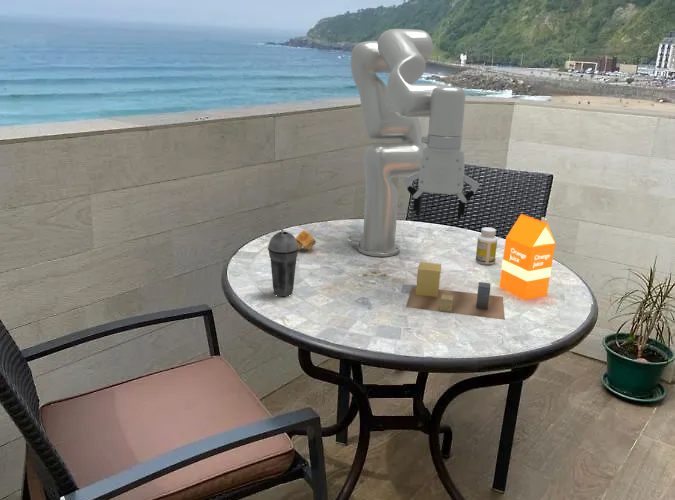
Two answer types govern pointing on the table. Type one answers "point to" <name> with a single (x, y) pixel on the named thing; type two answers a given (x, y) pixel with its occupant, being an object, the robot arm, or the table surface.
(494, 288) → the table surface
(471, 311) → the board
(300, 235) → the pyrite
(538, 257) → the orange juice
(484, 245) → the supplement bottle
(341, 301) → the table surface
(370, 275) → the set of tan pieces
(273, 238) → the beverage cup
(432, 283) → the tan rectangular block
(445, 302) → the wooden stub
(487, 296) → the post
